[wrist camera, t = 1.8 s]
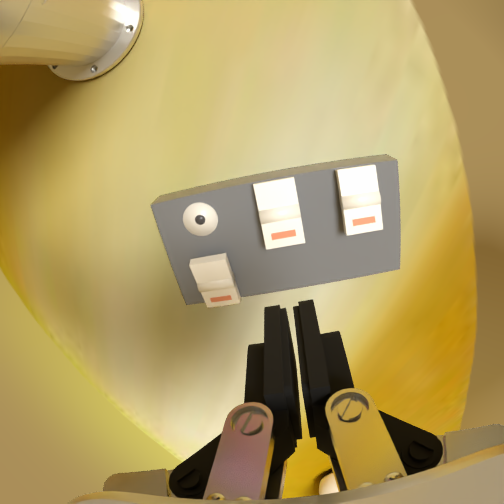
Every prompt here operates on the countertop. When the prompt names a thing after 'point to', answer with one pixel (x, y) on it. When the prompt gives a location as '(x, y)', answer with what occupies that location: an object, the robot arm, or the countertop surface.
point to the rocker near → (359, 199)
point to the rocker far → (215, 280)
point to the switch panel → (283, 258)
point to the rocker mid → (279, 212)
